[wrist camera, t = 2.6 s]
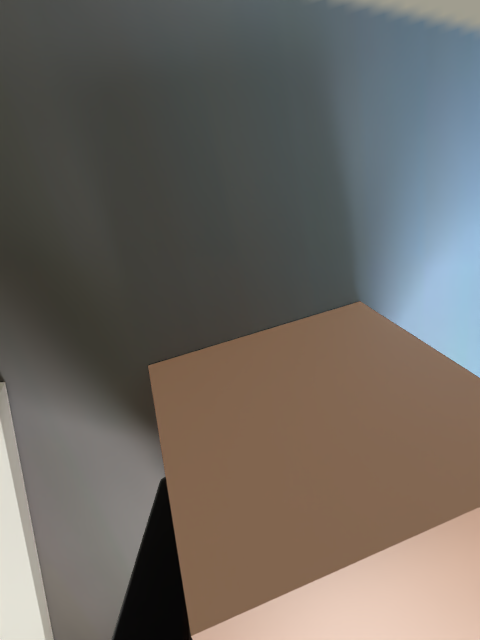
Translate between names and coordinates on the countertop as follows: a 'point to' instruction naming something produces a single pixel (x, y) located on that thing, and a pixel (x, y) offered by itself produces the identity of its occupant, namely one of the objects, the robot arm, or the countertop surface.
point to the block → (324, 483)
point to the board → (18, 546)
